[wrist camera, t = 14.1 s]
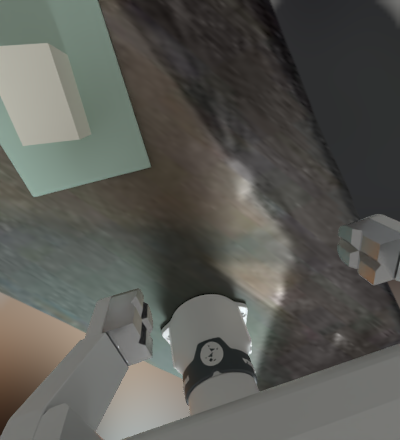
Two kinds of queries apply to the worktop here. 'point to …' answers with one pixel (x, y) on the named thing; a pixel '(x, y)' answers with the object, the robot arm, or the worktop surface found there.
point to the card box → (41, 94)
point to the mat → (89, 93)
